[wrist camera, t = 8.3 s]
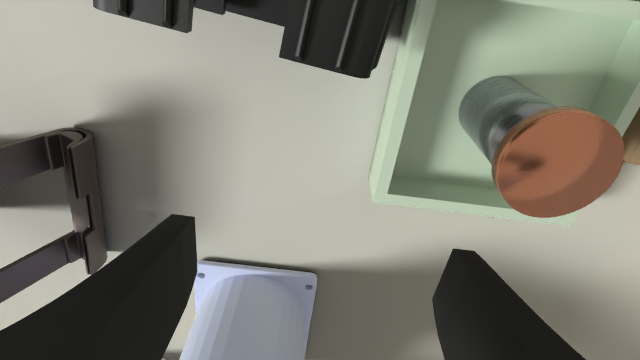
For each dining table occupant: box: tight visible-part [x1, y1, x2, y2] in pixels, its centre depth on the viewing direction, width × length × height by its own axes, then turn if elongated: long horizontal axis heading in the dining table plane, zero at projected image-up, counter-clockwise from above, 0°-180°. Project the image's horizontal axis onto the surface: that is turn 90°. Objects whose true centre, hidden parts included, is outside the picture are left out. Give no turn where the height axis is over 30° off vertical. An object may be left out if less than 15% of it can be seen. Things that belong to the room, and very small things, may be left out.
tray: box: [369, 0, 640, 226], centre depth 17 cm, size 10×10×2 cm
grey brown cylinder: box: [459, 76, 624, 218], centre depth 16 cm, size 4×4×6 cm
